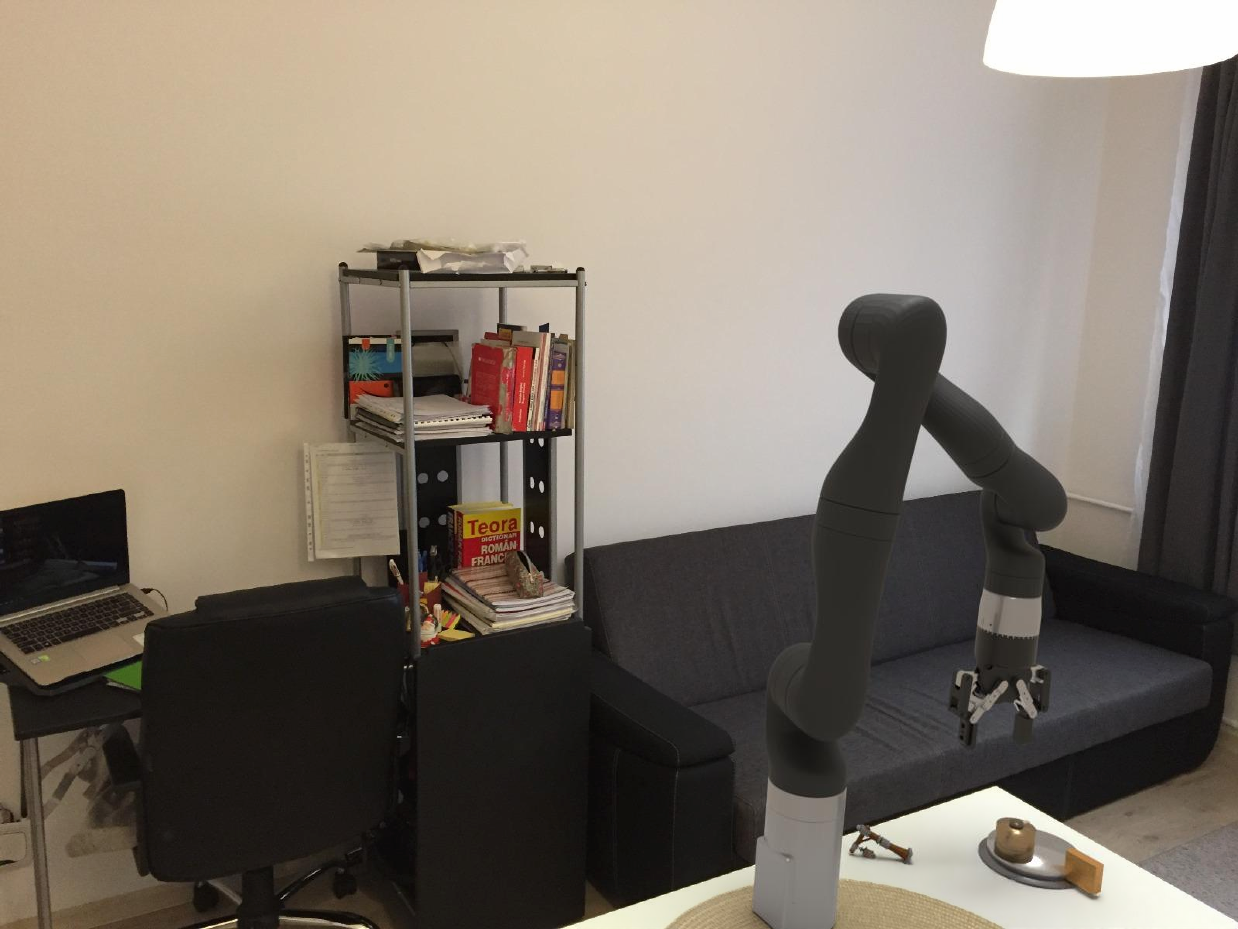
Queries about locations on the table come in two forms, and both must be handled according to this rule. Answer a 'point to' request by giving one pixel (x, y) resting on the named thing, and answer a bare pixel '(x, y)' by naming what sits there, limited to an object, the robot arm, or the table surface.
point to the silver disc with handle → (1056, 862)
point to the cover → (1014, 840)
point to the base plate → (1019, 877)
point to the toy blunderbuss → (883, 842)
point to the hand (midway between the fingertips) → (994, 745)
